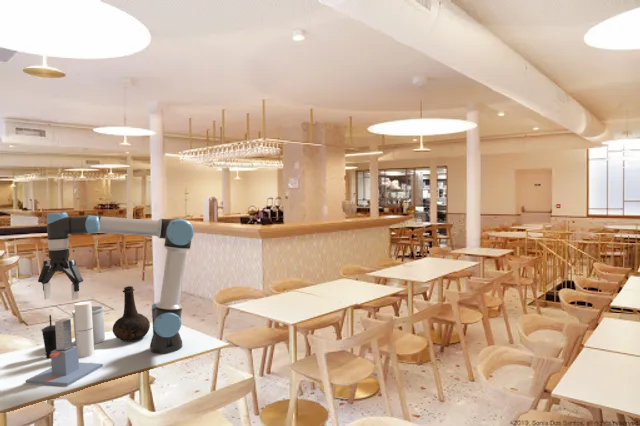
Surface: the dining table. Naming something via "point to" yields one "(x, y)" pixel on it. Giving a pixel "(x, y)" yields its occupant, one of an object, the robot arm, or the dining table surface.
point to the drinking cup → (49, 338)
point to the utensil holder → (95, 324)
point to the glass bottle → (130, 320)
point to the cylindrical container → (84, 328)
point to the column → (63, 334)
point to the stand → (64, 369)
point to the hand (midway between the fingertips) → (61, 299)
